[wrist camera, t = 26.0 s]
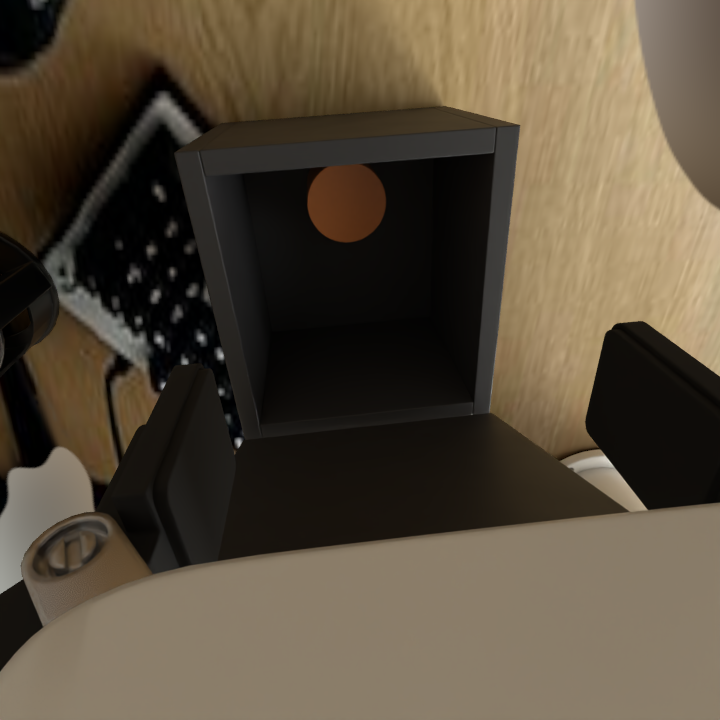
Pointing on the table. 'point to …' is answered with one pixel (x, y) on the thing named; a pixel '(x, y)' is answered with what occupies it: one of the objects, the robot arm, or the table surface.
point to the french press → (24, 300)
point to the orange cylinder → (345, 201)
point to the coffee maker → (355, 266)
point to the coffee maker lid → (396, 485)
